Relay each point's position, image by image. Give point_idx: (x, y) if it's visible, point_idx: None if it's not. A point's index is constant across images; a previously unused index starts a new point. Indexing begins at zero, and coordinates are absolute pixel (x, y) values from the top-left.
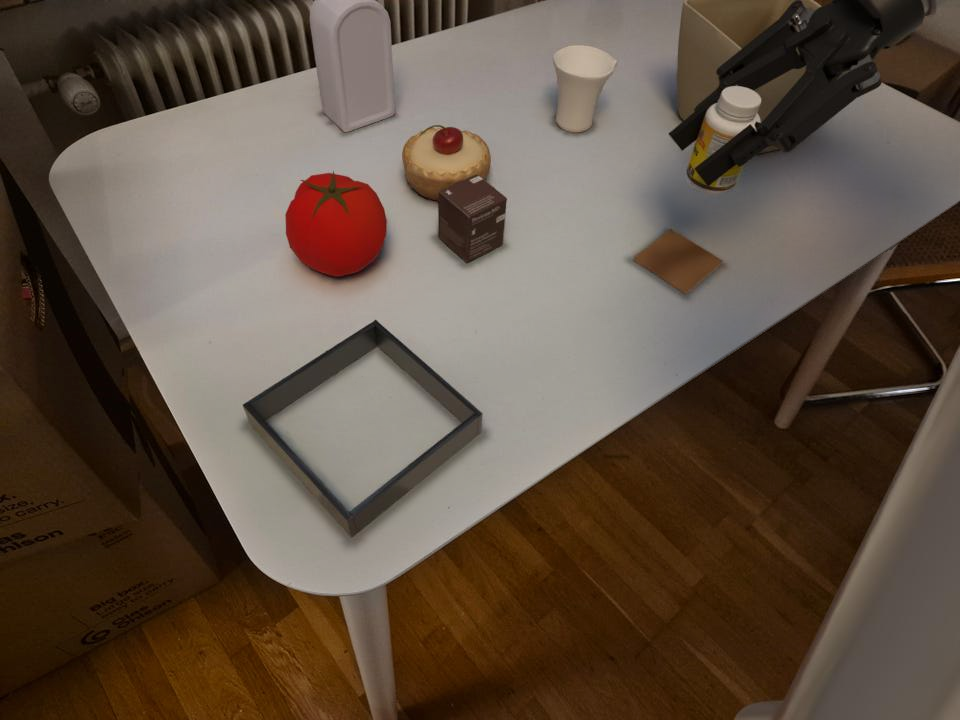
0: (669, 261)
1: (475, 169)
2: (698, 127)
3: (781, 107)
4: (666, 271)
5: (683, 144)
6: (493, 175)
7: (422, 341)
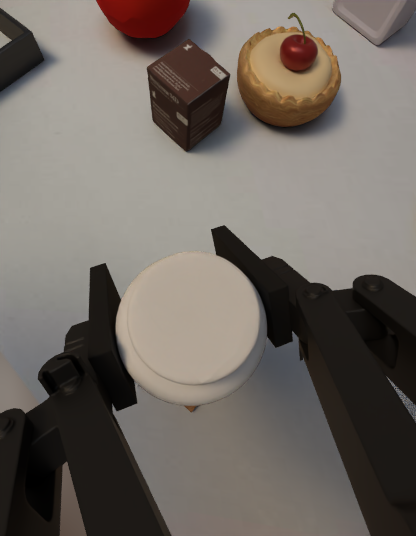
0: None
1: (262, 89)
2: None
3: (91, 445)
4: None
5: None
6: (303, 141)
7: (44, 92)
